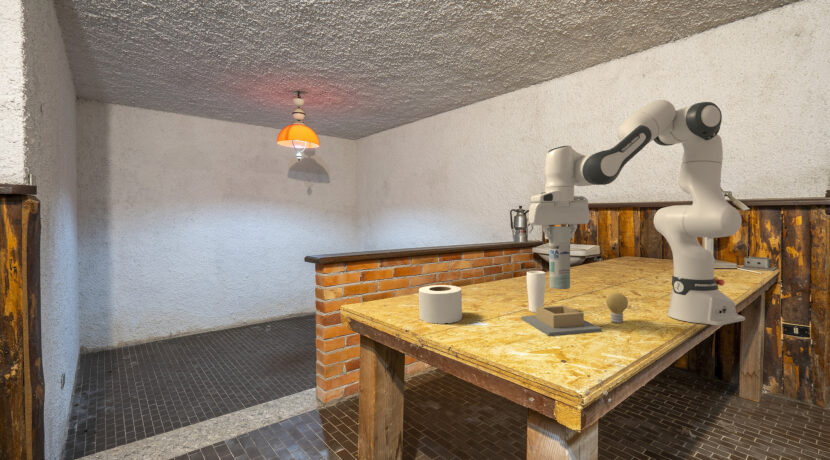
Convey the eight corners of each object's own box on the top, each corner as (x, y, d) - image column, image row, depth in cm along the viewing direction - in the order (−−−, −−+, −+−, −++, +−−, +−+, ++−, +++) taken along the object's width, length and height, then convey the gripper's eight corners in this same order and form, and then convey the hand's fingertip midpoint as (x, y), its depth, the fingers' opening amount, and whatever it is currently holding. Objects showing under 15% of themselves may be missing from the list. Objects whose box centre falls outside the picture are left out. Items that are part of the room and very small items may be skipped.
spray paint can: (545, 286, 123) (544, 226, 122) (562, 284, 124) (562, 226, 124) (556, 289, 117) (556, 227, 116) (574, 288, 118) (574, 226, 117)
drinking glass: (549, 312, 137) (549, 272, 136) (536, 314, 134) (536, 274, 133) (535, 308, 143) (535, 270, 142) (522, 310, 140) (522, 271, 139)
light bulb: (631, 324, 120) (632, 294, 119) (612, 325, 120) (612, 295, 119) (620, 319, 126) (620, 290, 126) (602, 319, 126) (602, 291, 126)
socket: (567, 315, 132) (567, 301, 132) (601, 331, 114) (601, 315, 114) (521, 319, 129) (521, 305, 128) (549, 335, 111) (549, 319, 111)
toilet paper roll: (410, 318, 133) (410, 288, 133) (440, 309, 143) (439, 282, 143) (441, 327, 122) (440, 295, 121) (470, 317, 132) (470, 288, 132)
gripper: (581, 196, 124) (581, 237, 125) (526, 197, 121) (526, 239, 121) (594, 195, 118) (594, 238, 119) (535, 196, 114) (536, 240, 115)
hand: (559, 238), depth 120 cm, fingers closed on spray paint can, 6 cm apart
